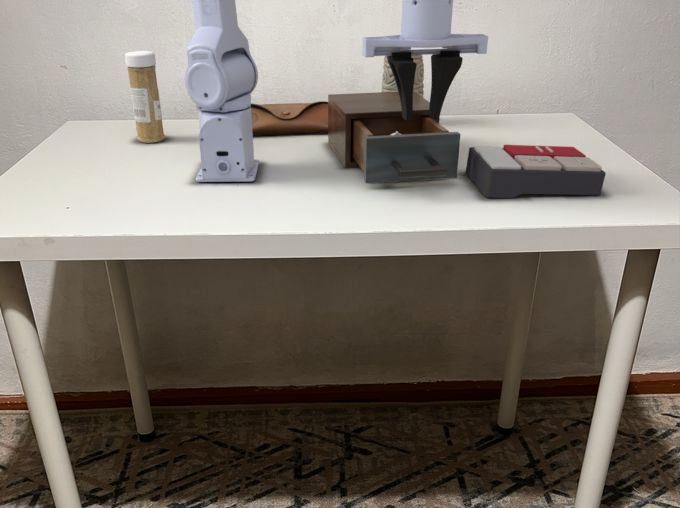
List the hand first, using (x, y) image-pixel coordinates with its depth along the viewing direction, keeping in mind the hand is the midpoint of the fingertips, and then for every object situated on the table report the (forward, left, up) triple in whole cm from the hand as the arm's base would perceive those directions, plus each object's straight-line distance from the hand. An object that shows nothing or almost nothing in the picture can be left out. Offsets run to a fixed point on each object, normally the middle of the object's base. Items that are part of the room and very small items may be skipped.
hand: (420, 118), depth 86 cm
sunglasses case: (+34, +18, -10) cm, 40 cm away
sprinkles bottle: (+28, +40, -10) cm, 50 cm away
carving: (+38, -2, -10) cm, 39 cm away
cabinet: (+19, +3, -9) cm, 22 cm away
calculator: (+3, -16, -10) cm, 19 cm away
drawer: (+6, +1, -9) cm, 10 cm away
